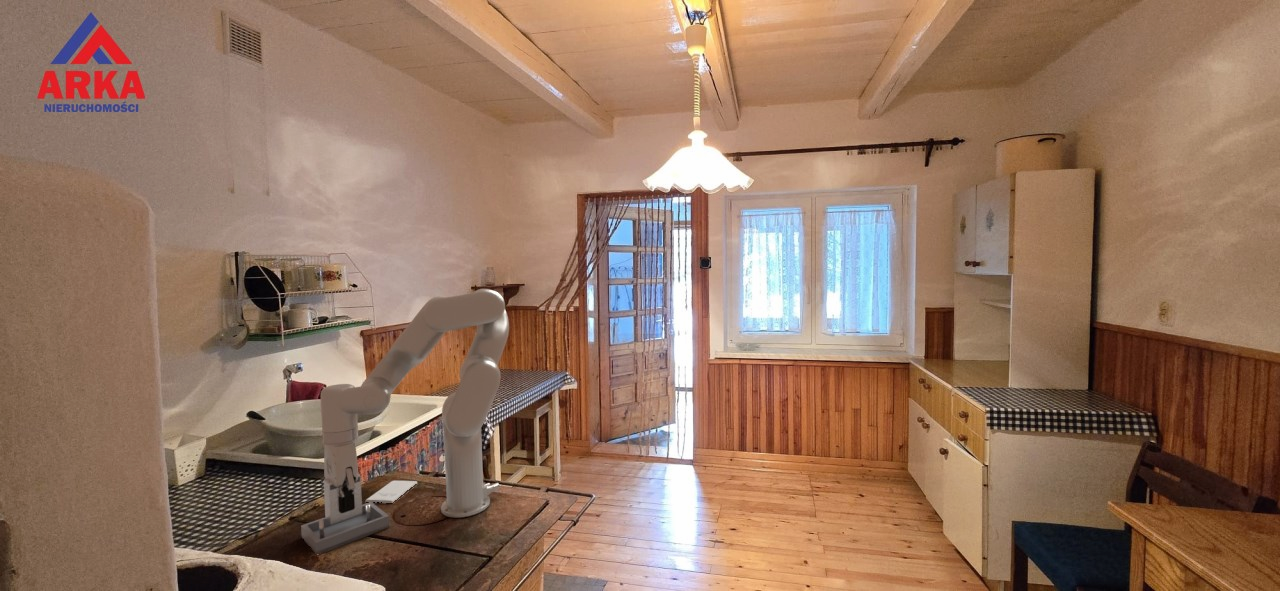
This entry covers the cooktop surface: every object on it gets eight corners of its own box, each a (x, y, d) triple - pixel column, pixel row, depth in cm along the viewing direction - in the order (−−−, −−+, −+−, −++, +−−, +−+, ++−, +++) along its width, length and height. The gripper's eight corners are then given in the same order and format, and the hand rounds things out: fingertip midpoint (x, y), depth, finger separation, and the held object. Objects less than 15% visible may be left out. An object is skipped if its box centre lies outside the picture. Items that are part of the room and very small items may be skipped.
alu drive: (356, 508, 128) (354, 470, 127) (362, 513, 125) (360, 474, 124) (325, 519, 122) (323, 479, 122) (330, 524, 120) (328, 484, 119)
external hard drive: (417, 486, 151) (392, 505, 139) (392, 485, 152) (365, 504, 140) (417, 481, 151) (392, 500, 139) (391, 480, 152) (365, 499, 140)
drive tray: (371, 512, 134) (370, 494, 134) (389, 527, 126) (388, 508, 126) (301, 537, 122) (300, 517, 122) (316, 555, 114) (315, 534, 114)
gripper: (312, 432, 125) (316, 503, 126) (334, 447, 114) (338, 525, 115) (345, 425, 131) (348, 493, 132) (369, 438, 120) (373, 513, 121)
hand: (343, 507), depth 123 cm, fingers closed on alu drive, 4 cm apart
